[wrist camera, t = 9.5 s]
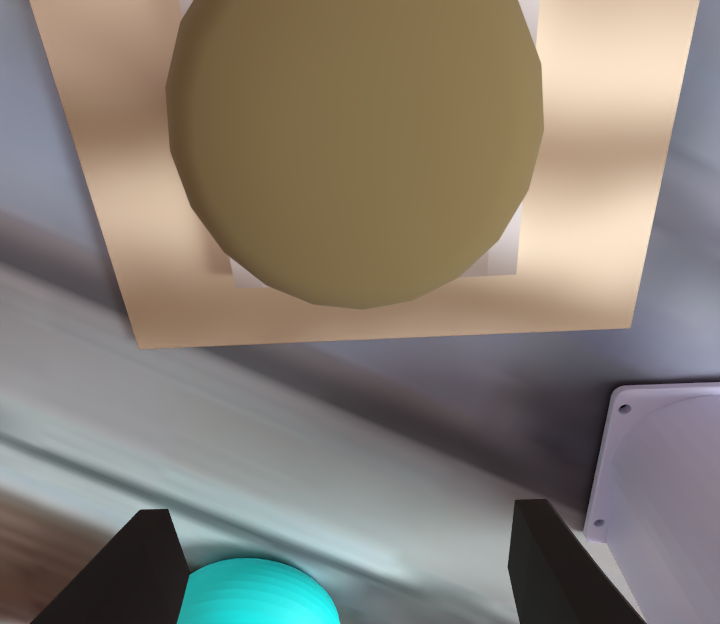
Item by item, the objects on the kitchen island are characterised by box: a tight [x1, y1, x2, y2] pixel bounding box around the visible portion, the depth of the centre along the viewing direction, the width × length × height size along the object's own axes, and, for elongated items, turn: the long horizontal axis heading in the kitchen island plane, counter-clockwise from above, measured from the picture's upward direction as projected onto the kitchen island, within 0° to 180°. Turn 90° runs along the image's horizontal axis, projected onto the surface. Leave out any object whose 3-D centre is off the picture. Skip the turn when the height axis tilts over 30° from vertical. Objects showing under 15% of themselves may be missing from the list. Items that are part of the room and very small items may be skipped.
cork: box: [165, 0, 544, 310], centre depth 10 cm, size 6×6×11 cm
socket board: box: [29, 0, 699, 349], centre depth 15 cm, size 16×20×2 cm
